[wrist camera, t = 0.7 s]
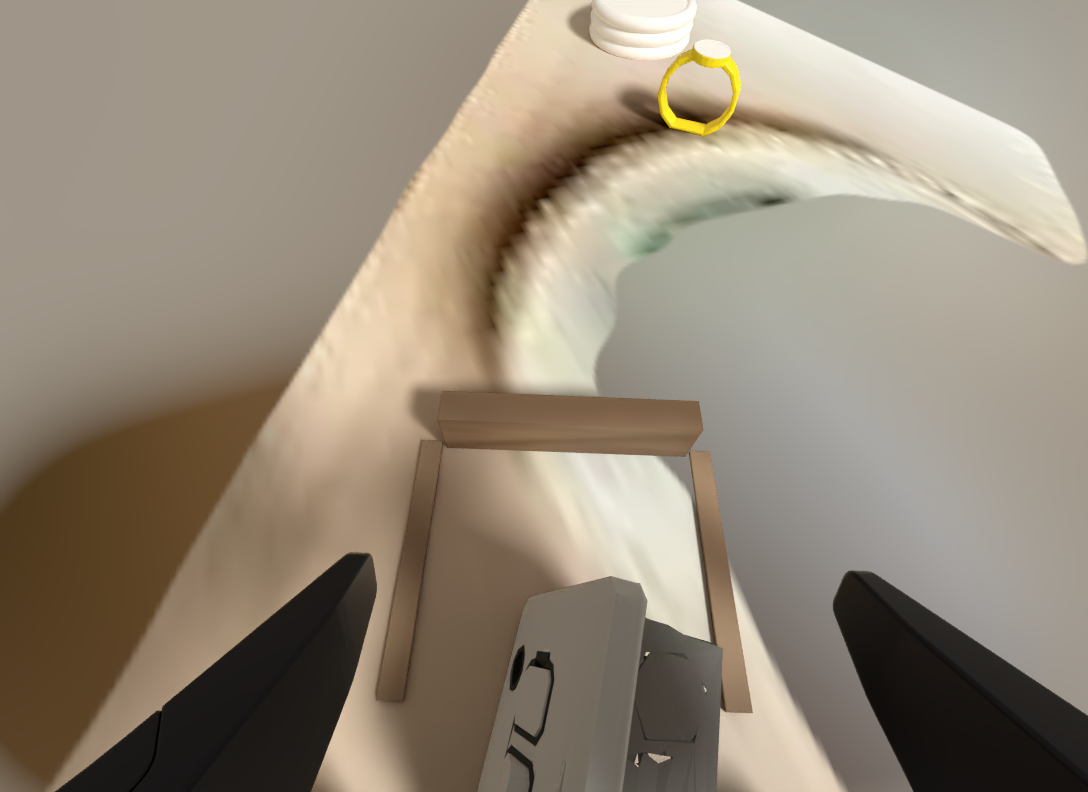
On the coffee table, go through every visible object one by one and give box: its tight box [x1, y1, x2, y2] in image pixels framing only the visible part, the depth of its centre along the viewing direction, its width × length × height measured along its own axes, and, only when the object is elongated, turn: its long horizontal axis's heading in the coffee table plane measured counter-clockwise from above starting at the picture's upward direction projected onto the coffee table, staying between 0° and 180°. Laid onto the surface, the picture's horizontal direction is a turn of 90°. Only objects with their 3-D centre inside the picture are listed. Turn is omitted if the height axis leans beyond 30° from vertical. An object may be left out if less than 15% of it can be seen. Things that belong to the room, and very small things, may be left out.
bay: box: [376, 391, 753, 713], centre depth 20 cm, size 12×14×3 cm
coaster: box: [589, 0, 697, 61], centre depth 46 cm, size 10×10×4 cm
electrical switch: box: [477, 576, 723, 792], centre depth 14 cm, size 9×5×9 cm, turn 166°
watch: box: [658, 40, 741, 136], centre depth 37 cm, size 6×3×6 cm, turn 69°
